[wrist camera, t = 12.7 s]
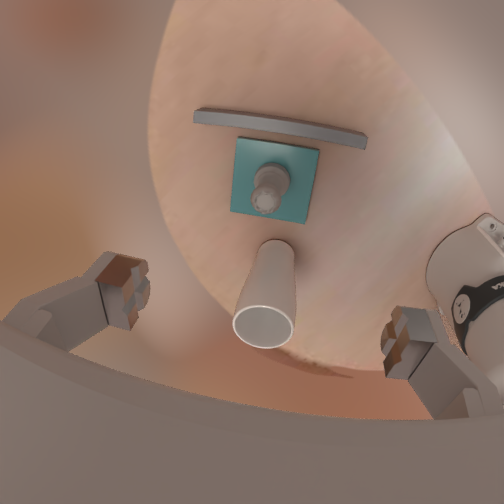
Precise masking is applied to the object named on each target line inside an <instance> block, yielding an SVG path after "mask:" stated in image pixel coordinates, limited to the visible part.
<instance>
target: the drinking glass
mask: <svg viewBox="0 0 504 504" xmlns="http://www.w3.org/2000/svg"><path fill="white" fill-rule="evenodd" d="M294 261H295V255H294V251H293V249H292V248H291V247H290V246H289V245H288V244H287V243H286V242H283V241H281V240H270V241H267V242H265V243H264V244H262V245H261V246H260V248H259V250H258V252H257V256H256V259H255V261H254V263H253V266H252V268H251V270H250V273H249V275H248V277H247V279H246V281H245V284H244V286H243V288H242V291H241V293H240V296H239V299H238V302H237V305H236V309H235V313H234V318H233V329H234V331H235V333H236V335H237V336H238V337H239V338H240V339H241V340H242V341H244V342H245V343H247V344H249V345H251V346H254V347H258V348H275V347H279V346H281V345H283V344H285V343H287V342H288V341H289V340H290V339H291V337H292V335H293V332H294V326H295V319H296V285H295V269H294Z"/></svg>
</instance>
